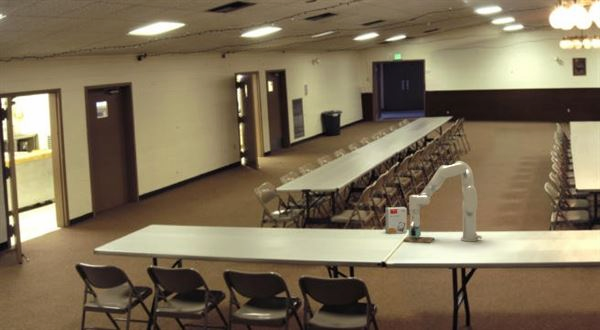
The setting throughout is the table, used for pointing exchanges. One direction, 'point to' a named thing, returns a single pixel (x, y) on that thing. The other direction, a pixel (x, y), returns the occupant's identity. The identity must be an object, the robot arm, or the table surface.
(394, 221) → the hard drive box
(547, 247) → the table surface
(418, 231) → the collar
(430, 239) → the base board
